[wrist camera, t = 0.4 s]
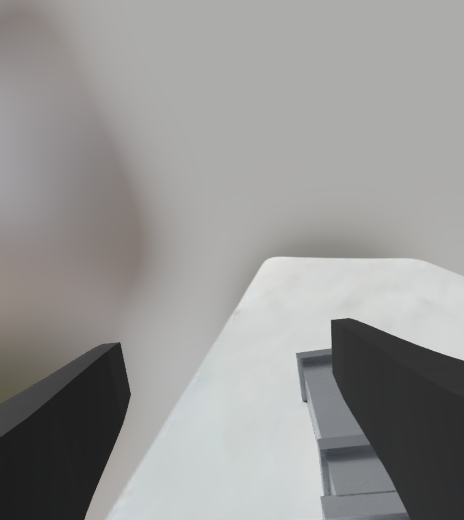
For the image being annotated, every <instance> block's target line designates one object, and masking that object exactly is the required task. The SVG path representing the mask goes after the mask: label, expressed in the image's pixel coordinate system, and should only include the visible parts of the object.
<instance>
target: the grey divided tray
mask: <svg viewBox="0 0 464 520" xmlns="http://www.w3.org/2000/svg"><path fill="white" fill-rule="evenodd" d="M296 358H297V365H298V373H299V380H300V388H301V395H302V400H303V401H307V404H308V408H309V412H310V417H311V421H312V425H313V429H314V433H315V437H316V441H317V445H318V452H319V460H320V469H321V478H322V487H323V491H324V496H321V505H322V513H323V520H411V519H410V517H409V515H408V513H407V511H406V509H405V507H404V505H403V503H402V501H401V499H400V497H399V495H398V493H397V491H396V489H395V487H394V485H393V482H392V480H391V479H390V477H389V475H388V473H387V471H386V470H385V468H384V466H383V464H382V462H381V461H380V459H379V458H378V456H377V454H376V453H375V451H374V449H373V448H372V446H371V444H370V443H369V441H368V439H367V438H366V436H365V434H364V433H363V431H362V429H361V428H360V426H359V425H358V423H357V421H356V420H355V418H354V416H353V414H352V413H351V411H350V409H349V408H348V406H347V404H346V403H345V401H344V399H343V397H342V395H341V392H340V390H339V388H338V386H337V383H336V381H335V378H334V376H333V374H332V349H324V350H316V351H309V352H301V353H296Z"/></svg>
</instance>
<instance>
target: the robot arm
mask: <svg viewBox="0 0 464 520" xmlns="http://www.w3.org/2000/svg"><path fill="white" fill-rule="evenodd" d="M331 337H332V374H333V376H334V378H335V381H336V383H337V386H338V388H339V390H340V392H341V395H342V397H343V399H344V401H345V403H346V404H347V406H348V408H349V409H350V411H351V413H352V414H353V416H354V418H355V420H356V421H357V423H358V425H359V426H360V428H361V429H362V431H363V433H364V434H365V436H366V438H367V439H368V441H369V443H370V444H371V446H372V448H373V449H374V451H375V453H376V454H377V456H378V458H379V459H380V461H381V462H382V464H383V466H384V468H385V470H386V471H387V473H388V475H389V477H390V479H391V480H392V482H393V485H394V487H395V489H396V491H397V493H398V495H399V497H400V499H401V501H402V503H403V505H404V507H405V509H406V511H407V513H408V515H409V517H410V519H411V520H464V361H463V360H460V359H456V358H453V357H450V356H447V355H444V354H441V353H438V352H435V351H432V350H429V349H427V348H424V347H421V346H418V345H416V344H413V343H411V342H408V341H406V340H403V339H401V338H398V337H396V336H393V335H391V334H388V333H386V332H384V331H381V330H379V329H377V328H374V327H372V326H369V325H367V324H365V323H362V322H359V321H357V320H354V319H350V318H346V319H337V320H331ZM130 396H131V393H130V388H129V383H128V378H127V373H126V368H125V363H124V359H123V354H122V349H121V344H120V342H119V343H109V344H102V345H99V346H97V347H95V348H93V349H92V350H90V351H88V352H86V353H85V354H83V355H82V356H80V357H78V358H77V359H75V360H74V361H72V362H70V363H69V364H67V365H66V366H64V367H62V368H61V369H59V370H58V371H56V372H54V373H53V374H51V375H50V376H48V377H46V378H45V379H43V380H41V381H39V382H38V383H36V384H34V385H33V386H31V387H29V388H28V389H26V390H24V391H23V392H21V393H19V394H17V395H15V396H14V397H12V398H10V399H8V400H6V401H4V402H3V403H1V404H0V520H84V519H85V516H86V513H87V510H88V508H89V505H90V502H91V500H92V497H93V495H94V492H95V490H96V487H97V485H98V483H99V480H100V478H101V475H102V473H103V471H104V468H105V466H106V464H107V461H108V459H109V457H110V454H111V452H112V450H113V447H114V445H115V442H116V440H117V437H118V435H119V433H120V430H121V428H122V425H123V422H124V419H125V415H126V412H127V408H128V404H129V400H130Z"/></svg>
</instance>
